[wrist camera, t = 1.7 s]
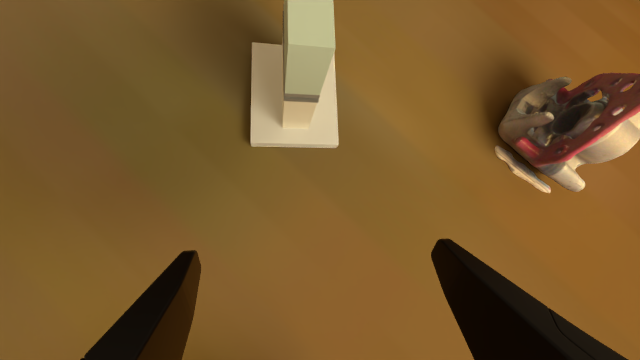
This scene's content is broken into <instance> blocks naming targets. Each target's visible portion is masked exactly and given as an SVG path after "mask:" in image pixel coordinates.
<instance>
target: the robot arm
mask: <svg viewBox="0 0 640 360" xmlns="http://www.w3.org/2000/svg"><path fill="white" fill-rule="evenodd" d="M431 258H432V261H433V264H434V267H435V270H436V273H437V275H438V278H439V281H440V284H441V287H442V290H443V292H444V295H445V297H446V299H447V302H448V304H449V306H450V308H451V310H452V312H453V315H454V317H455V319H456V321H457V323H458V325H459V327H460V330H461V332H462V334H463V336H464V338H465V340H466V343H467V345H468V347H469V349H470V351H471V353H472V356H473V358H474V360H628V359H626V358H625V357H623V356H621V355H620V354H618V353H617V352H615V351H613V350H612V349H610V348H609V347H607V346H605V345H604V344H602V343H601V342H599V341H598V340H596V339H594V338H593V337H591V336H590V335H588V334H587V333H585V332H584V331H582V330H580V329H579V328H578V327H576V326H575V325H573V324H572V323H570V322H569V321H567V320H566V319H564V318H563V317H561V316H560V315H558V314H557V313H556V312H554V311H553V310H551V309H549V308H548V307H547V306H545V305H544V304H543V303H541V302H540V301H538V300H537V299H535V298H534V297H532V296H531V295H530V294H528V293H527V292H525V291H524V290H522V289H521V288H520V287H518V286H517V285H515V284H514V283H512V282H511V281H509V280H508V279H507V278H505V277H504V276H502V275H501V274H499V273H498V272H497V271H495V270H494V269H492V268H491V267H489V266H488V265H486V264H485V263H484V262H482V261H481V260H479V259H478V258H476V257H475V256H473V255H472V254H471V253H469V252H468V251H466V250H465V249H463V248H462V247H461V246H459V245H458V244H456V243H455V242H453V241H452V240H450V239H439V240H438V241H437V242H436V244H435V246H434V248H433V250H432V252H431ZM200 274H201V264H200V261H199V257H198V253H197V251H195V250H191V251H183V252H182V253H181V254H180V255H179V256H178V257H177V258H176V259H175V260H174V261H173V262H172V263H171V264H170V265H169V266H168V267H167V268H166V269H165V271H164V272H163V273H162V274H161V275H160V276H159V277H158V278H157V279H156V280H155V281H154V282H153V283H152V284H151V285H150V286H149V287H148V289H147V290H146V291H145V292H144V293H143V294H142V295H141V296H140V297H139V298H138V299H137V300H136V301H135V302H134V303H133V304H132V306H131V307H130V308H129V309H128V310H127V311H126V312H125V313H124V314H123V315H122V316H121V317H120V318H119V319H118V320H117V321H116V322H115V324H114V325H113V326H112V327H111V328H110V329H109V330H108V331H107V332H106V333H105V334H104V335H103V336H102V337H101V338H100V339H99V341H98V342H97V343H96V344H95V345H94V346H93V347H92V348H91V349H90V350H89V351H88V352H87V353H86V354H85V356H84V358H82V359H80V360H182V356H183V353H184V349H185V346H186V342H187V338H188V335H189V331H190V328H191V324H192V320H193V316H194V310H195V304H196V298H197V292H198V286H199V280H200Z"/></svg>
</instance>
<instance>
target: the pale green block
mask: <svg viewBox="0 0 640 360" xmlns="http://www.w3.org/2000/svg"><path fill="white" fill-rule="evenodd" d="M283 9H284V96H285V97H303V98H319V97H320V93H321V90H322V87H323V84H324V81H325V78H326V75H327V72H328V69H329V66H330V63H331V60H332V57H333V54H334V51H335V29H334V8H333V0H284V8H283Z"/></svg>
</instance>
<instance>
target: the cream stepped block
mask: <svg viewBox="0 0 640 360" xmlns="http://www.w3.org/2000/svg"><path fill="white" fill-rule="evenodd" d="M338 145H339V143H338V122H337V101H336V80H335V59H334V54H333V57H332V60H331V63H330V66H329V69H328V72H327V75H326V78H325V81H324V84H323V87H322V90H321V93H320V97H319V98H303V97H285V96H284V11H283V43H282V45H277V44H266V43H255V42H252V80H251V146H259V147H310V148H337V146H338Z"/></svg>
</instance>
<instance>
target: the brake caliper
mask: <svg viewBox="0 0 640 360" xmlns="http://www.w3.org/2000/svg"><path fill="white" fill-rule="evenodd" d="M570 83H571V79H570V78H568V77H561V78H557V79H554V80H553V79H548V80H547V81H546V82H544V83H541V84H538V85H533V86H530V87H528V88H526V89H523V90H521V91H520V92H519V93H517V95H516V96H515V97H514V99H513V101H512V102H511V104H510V107H509V109H508V111H507V113H506V115H505V117H504V118H503V119H502V121H501V123H500V125H499V127H498V133H499V135H500V137H501V138H502V139H503V140H504V141H505V142H506V143H507V144H509V145H510V146H511V147H512V148H513V149H514V150H515V151H516V152H517V153H518V154H519V155H520V156H522V157H523V158H524V159H525V160H527V161H528V162H529V163H530V164H531V165H533V166H534V167H536V168H537V169H538V170H539V171H540V172H541V173H543V174H545V175H546V176H548V177H550V178H551V179H553V180H554V181H555V182H557V183H558V184H560V185H561V186H563V187H564V188H566V189H568V190H571V191H575V192H578V191H580V190H582V189H583V188H584V187H585V182H584V181H583V180H582V179H581V178H580V177H579V175H578V174H577V173H576V171H575V169H576V167H578V166H580V165H582V164H585V163H601V162H606V161H609V160H612V159H614V158H617V157H619V156H621V155H623V154H624V153H626V152H627V151H629V150H630V149H631V148H632V147H633V146H634V145H635V144H636V143H637V141H638V140H639V138H640V74H635V73H628V74H625V73H623V74H621V73H608V74H607V73H603V74H599V75H597V76H594V77H593V78H591V79H590V80H588V81H586V82H584V83H582V84H581V85H580V86H578V87H577V88H575V89H573V90H571V91H567V90H566V89H565V88H564V87H565V86H567V85H569V84H570ZM617 83H618V84H617ZM632 84H634V85H633V87H632V88H631V89H629V90H627V91H625V92H623V90H624V89H625V88H627V87H628V86H630V85H632ZM600 90H601V91H602V96H603V97H602V99H600V100H597V101H594V102H590V101H589V100H587V98H589V97H592V96H594V95H596V94H597V93H598V92H599V91H600ZM607 98H608V99H607ZM623 107H625V109H624V110H622V108H623ZM495 152H496V155H497V157H498V158H499V159H501V160H504V161H505V162H506V163H507V164H508V166H509V169H510V170H511V171H512V172H513V173H514V174H515V175H517V176H518V177H520V178H522V179H524V180H526V181H527V182H529V183H531V184H532V185H533V186H534V187H535V188H537V189H539V190H540V191H542V192H547V193H550V191H551V189H550V187H549V186H548V185H547V184H545V183H544V182H543V181H541V180H539V179H538V178H537V177H536V175H535V174H534V172H532V171H531V170H530V169H528V168H527V167H526V166H525V165H524V164H523V163H521V162H518V161H516V160H515V159H514V158H513V156H512V154H511V153H510V152H509V151H506V150H504V149H503V148H501V147H500V146H498V145H496V147H495Z"/></svg>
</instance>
